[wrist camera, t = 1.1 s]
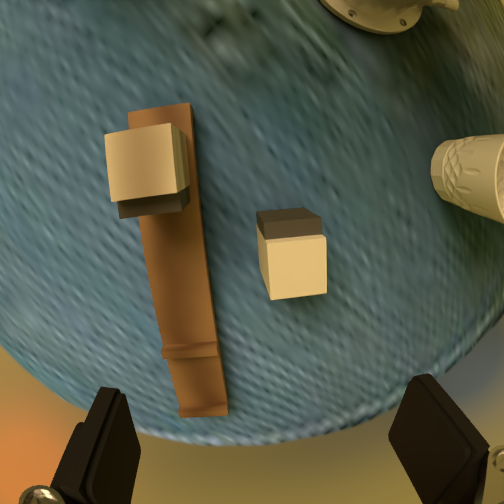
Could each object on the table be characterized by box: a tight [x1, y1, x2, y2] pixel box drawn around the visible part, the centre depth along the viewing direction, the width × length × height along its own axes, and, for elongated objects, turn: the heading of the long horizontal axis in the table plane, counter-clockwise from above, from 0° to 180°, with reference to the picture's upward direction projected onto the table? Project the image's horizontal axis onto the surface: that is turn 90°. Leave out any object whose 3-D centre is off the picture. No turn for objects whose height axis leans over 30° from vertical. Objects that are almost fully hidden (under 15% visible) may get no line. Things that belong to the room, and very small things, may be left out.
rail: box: [105, 103, 228, 418], centre depth 24 cm, size 5×29×9 cm, turn 5°
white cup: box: [430, 134, 504, 224], centre depth 23 cm, size 8×8×10 cm
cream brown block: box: [256, 208, 327, 300], centre depth 25 cm, size 4×5×7 cm
